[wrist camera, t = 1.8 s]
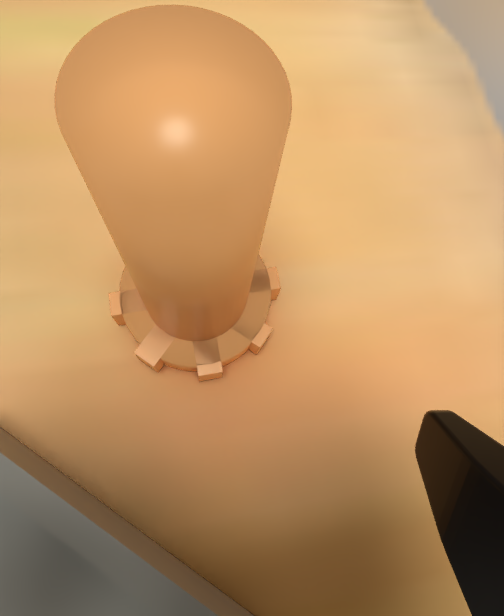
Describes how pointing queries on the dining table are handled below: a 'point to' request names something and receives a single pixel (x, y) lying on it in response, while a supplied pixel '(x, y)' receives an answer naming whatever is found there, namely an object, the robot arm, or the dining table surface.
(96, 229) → the dining table surface
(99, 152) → the peach joystick knob
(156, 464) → the dining table surface
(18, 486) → the grey square tray
